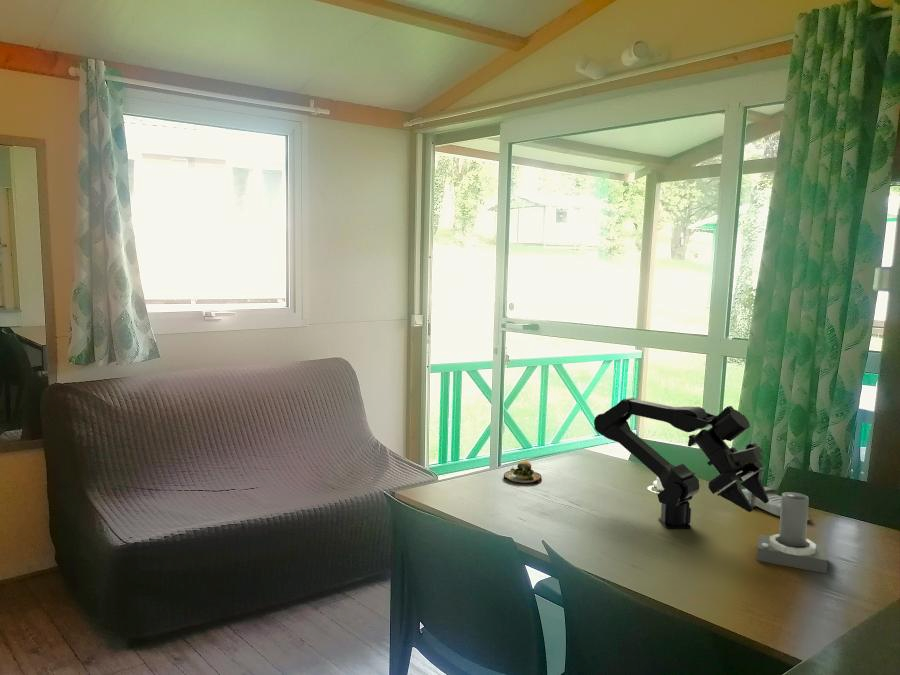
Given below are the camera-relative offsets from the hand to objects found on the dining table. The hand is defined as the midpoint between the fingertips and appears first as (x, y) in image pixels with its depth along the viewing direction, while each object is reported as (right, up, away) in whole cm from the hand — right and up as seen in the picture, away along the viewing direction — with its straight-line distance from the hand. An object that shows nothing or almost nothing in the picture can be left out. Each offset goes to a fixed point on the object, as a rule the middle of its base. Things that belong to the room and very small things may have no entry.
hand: (759, 506), depth 161 cm
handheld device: (+17, -8, +28) cm, 34 cm away
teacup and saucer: (-7, -7, +46) cm, 47 cm away
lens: (+5, -8, -5) cm, 11 cm away
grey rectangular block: (+5, -11, -5) cm, 13 cm away
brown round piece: (-51, -5, +53) cm, 73 cm away
